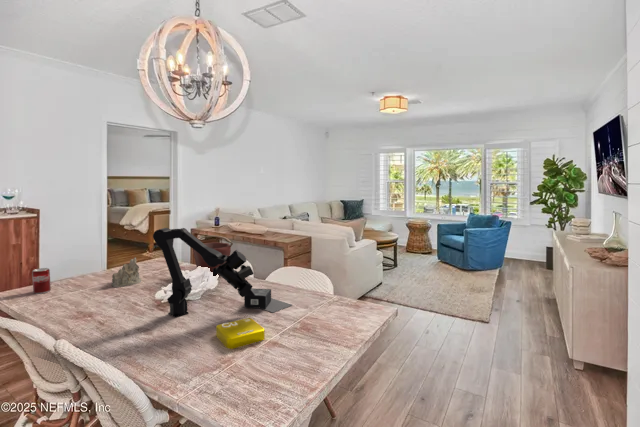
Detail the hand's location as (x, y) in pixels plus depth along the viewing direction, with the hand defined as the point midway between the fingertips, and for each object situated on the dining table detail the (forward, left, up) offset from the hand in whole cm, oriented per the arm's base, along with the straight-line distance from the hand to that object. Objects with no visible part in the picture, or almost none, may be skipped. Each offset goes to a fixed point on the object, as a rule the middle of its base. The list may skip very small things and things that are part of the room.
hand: (253, 295), depth 162 cm
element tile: (-21, -17, -8) cm, 28 cm away
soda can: (-56, +105, -7) cm, 119 cm away
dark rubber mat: (+10, 0, -7) cm, 13 cm away
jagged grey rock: (-19, +90, -8) cm, 93 cm away
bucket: (+23, +68, -7) cm, 72 cm away
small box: (+2, +1, -4) cm, 4 cm away
